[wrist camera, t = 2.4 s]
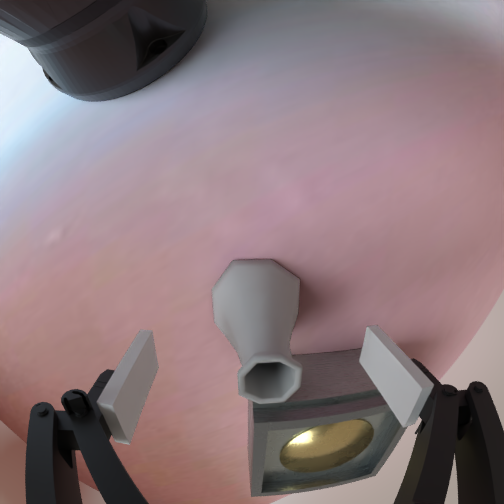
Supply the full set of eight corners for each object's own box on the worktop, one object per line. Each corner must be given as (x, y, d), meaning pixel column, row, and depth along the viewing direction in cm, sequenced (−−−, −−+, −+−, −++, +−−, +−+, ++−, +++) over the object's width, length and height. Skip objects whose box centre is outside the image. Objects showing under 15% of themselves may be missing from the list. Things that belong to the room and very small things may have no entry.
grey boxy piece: (248, 356, 23) (254, 418, 15) (389, 344, 23) (427, 388, 16) (247, 449, 26) (251, 498, 19) (355, 435, 27) (374, 477, 20)
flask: (313, 270, 21) (367, 334, 11) (282, 346, 23) (307, 432, 13) (224, 244, 20) (214, 297, 11) (201, 326, 22) (182, 413, 12)
